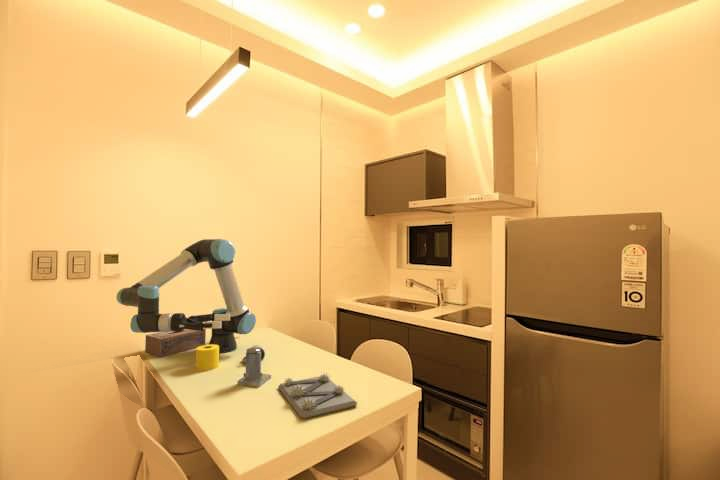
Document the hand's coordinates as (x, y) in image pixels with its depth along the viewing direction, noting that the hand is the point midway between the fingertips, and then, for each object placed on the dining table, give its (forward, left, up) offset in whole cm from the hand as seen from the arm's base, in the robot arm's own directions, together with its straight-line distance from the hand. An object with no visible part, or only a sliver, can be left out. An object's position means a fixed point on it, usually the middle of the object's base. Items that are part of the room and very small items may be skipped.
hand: (225, 320), depth 144 cm
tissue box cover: (-33, -54, -26) cm, 69 cm away
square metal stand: (-3, +12, -26) cm, 29 cm away
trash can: (-3, +12, -24) cm, 27 cm away
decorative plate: (+4, +43, -27) cm, 51 cm away
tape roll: (-13, -19, -26) cm, 35 cm away
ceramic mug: (-27, -2, -26) cm, 38 cm away
